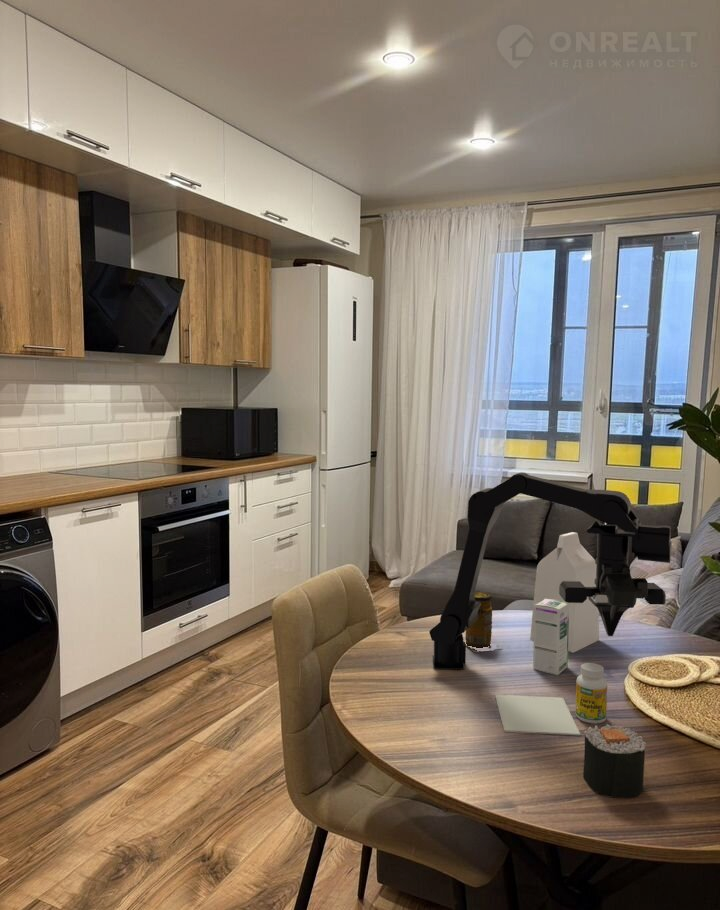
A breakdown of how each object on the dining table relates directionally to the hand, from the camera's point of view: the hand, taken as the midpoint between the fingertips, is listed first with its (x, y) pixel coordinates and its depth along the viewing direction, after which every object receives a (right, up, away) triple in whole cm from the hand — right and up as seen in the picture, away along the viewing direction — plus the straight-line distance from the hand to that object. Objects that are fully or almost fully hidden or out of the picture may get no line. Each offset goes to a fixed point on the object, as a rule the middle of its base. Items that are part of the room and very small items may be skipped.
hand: (609, 635), depth 130 cm
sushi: (-10, -15, -28) cm, 34 cm away
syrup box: (-8, -11, +15) cm, 20 cm away
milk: (+1, -10, +32) cm, 33 cm away
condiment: (-21, -10, +28) cm, 36 cm away
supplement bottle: (-6, -13, -8) cm, 16 cm away
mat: (-16, -13, -7) cm, 22 cm away
